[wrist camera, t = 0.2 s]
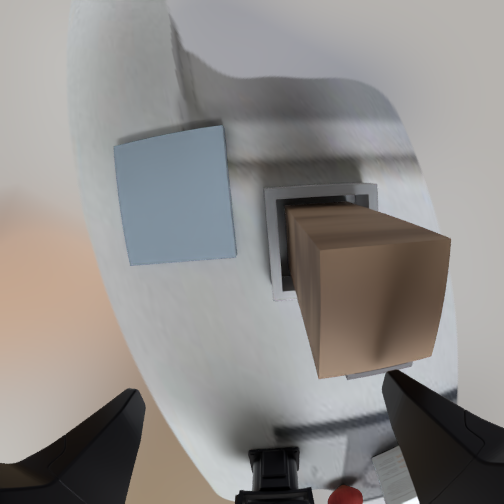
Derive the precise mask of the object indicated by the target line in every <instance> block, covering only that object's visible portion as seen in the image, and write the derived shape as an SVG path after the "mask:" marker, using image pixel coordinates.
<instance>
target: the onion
mask: <svg viewBox="0 0 504 504" xmlns="http://www.w3.org/2000/svg"><path fill="white" fill-rule="evenodd" d="M362 503H363V496H362V494H361V492H360V491H359V490H358V489H355V488H353V487H349V486H347V485H341V486H339V487H338V488H337V489H336V490H335V491H334V492H333V493H332V494H331V495H330V497H329V499H328V504H362Z"/></svg>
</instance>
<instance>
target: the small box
mask: <svg viewBox="0 0 504 504" xmlns="http://www.w3.org/2000/svg"><path fill="white" fill-rule="evenodd" d="M372 462H373V465H374V468H375V471H376V474H377V477H378V480H379V484H380V487H381V490H382V493H383V496H384V500H385V503H386V504H419V500H418V497H417V494H416V491H415V488H414V486H413V483H412V480H411V477H410V474H409V471H408V468H407V466H406V463H405V460H404V458H403V455H402V452H401V450H400V447H399V446H397V447H395V448H393V449H391V450H388V451H386V452H384V453H382V454H380V455H377V456H375V457H373V458H372Z"/></svg>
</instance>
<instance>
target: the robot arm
mask: <svg viewBox="0 0 504 504" xmlns="http://www.w3.org/2000/svg"><path fill="white" fill-rule="evenodd" d="M382 393H383V397H384V401H385V404H386V408H387V412H388V415H389V419H390V423H391V426H392V429H393V431H394V434H395V437H396V439H397V442H398V444H399V447H400V450H401V452H402V455H403V458H404V460H405V463H406V466H407V468H408V471H409V474H410V477H411V480H412V483H413V486H414V488H415V491H416V494H417V497H418V500H419V504H504V428H503V427H500V426H498V425H495V424H493V423H491V422H488V421H486V420H484V419H481V418H480V417H478V416H476V415H474V414H472V413H470V412H469V411H467V410H464V409H463V408H462V407H460V406H458V405H457V404H455V403H453V402H451V401H450V400H448V399H446V398H445V397H443V396H441V395H439V394H438V393H436V392H434V391H433V390H431V389H429V388H428V387H426V386H424V385H423V384H421V383H419V382H417V381H416V380H414V379H412V378H411V377H409V376H408V375H406V374H404V373H403V372H401V371H399V370H397V369H395V370H390V371H387V372H386V374H385V378H384V382H383V385H382ZM145 409H146V407H145V403H144V401H143V398H142V397H141V394H140V392H139V391H138V390H137V389H131V388H128V389H126V390H125V391H123V392H122V393H121V394H119V395H118V396H117V397H115V398H114V399H113V400H112V401H110V402H109V403H107V404H106V405H105V406H103V407H102V408H101V409H99V410H98V411H97V412H95V413H94V414H93V415H91V416H90V417H89V418H87V419H86V420H85V421H83V422H82V423H80V424H79V425H78V426H76V427H75V428H74V429H72V430H71V431H70V432H68V433H67V434H66V435H64V436H62V437H61V438H59V439H58V440H57V441H55V442H54V443H52V444H51V445H49V446H47V447H46V448H44V449H42V450H41V451H39V452H37V453H35V454H33V455H31V456H29V457H27V458H26V459H24V460H22V461H20V462H17V463H13V464H5V463H0V504H125V500H126V496H127V492H128V488H129V483H130V479H131V476H132V472H133V468H134V464H135V460H136V456H137V452H138V449H139V445H140V441H141V435H142V428H143V421H144V415H145ZM299 453H300V451H299V448H297V447H295V448H283V449H268V450H250V451H249V452H248V455H249V459H250V464H251V468H252V473H253V486H252V491H244V490H240V492H239V494H238V495H236V496H235V504H314V500H313V494H312V489H311V487H307V488H304V489H299V488H298V476H297V471H298V470H299Z"/></svg>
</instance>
